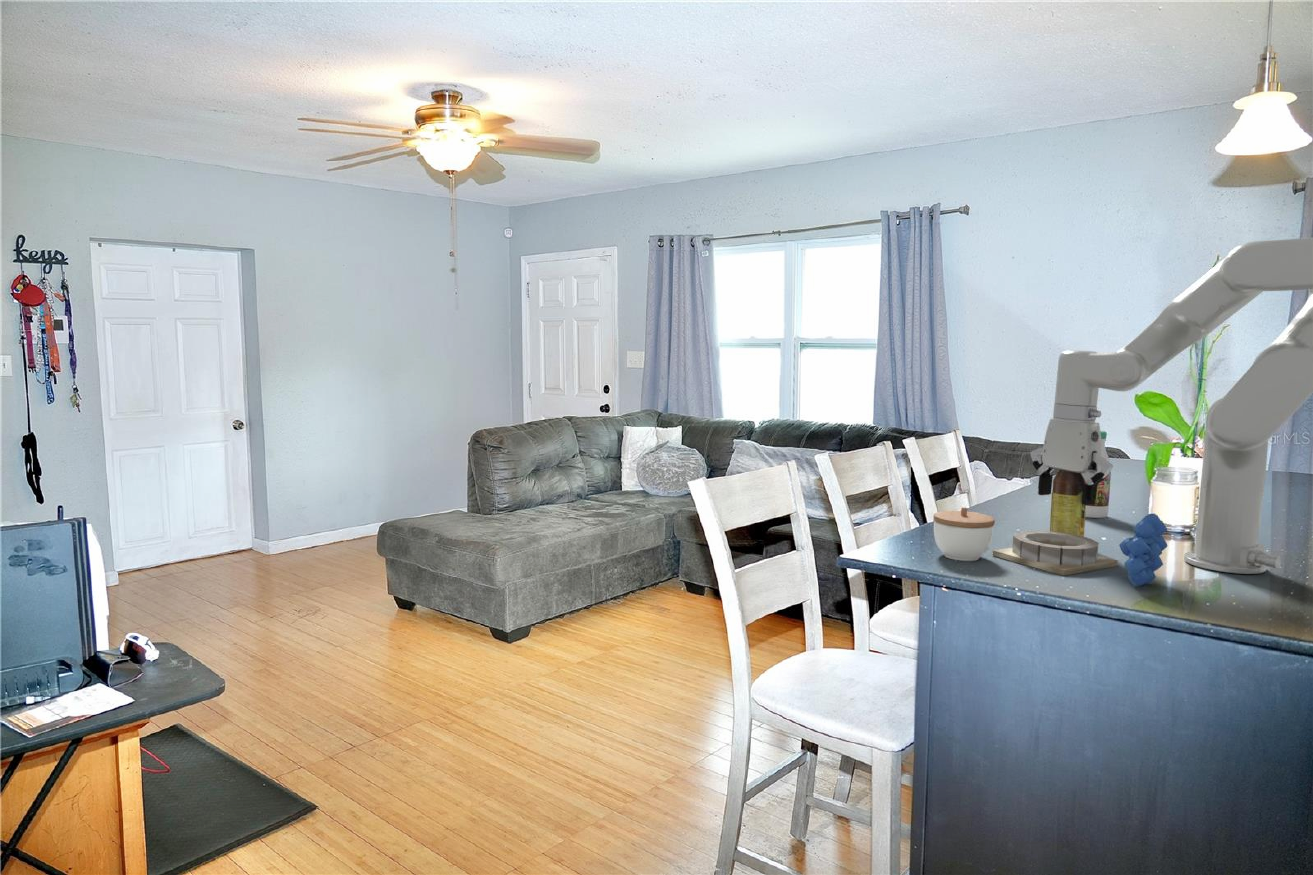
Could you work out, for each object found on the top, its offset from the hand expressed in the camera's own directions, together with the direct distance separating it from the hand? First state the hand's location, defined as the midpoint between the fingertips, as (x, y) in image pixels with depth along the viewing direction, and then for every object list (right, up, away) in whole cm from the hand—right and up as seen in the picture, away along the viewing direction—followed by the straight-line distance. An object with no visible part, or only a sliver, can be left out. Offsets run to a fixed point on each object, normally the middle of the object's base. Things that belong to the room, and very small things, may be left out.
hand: (1065, 499), depth 169 cm
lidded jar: (-24, -10, -10) cm, 28 cm away
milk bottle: (+20, -6, +31) cm, 37 cm away
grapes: (0, -13, -25) cm, 28 cm away
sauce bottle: (0, -9, +1) cm, 9 cm away
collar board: (-8, -11, -12) cm, 17 cm away
